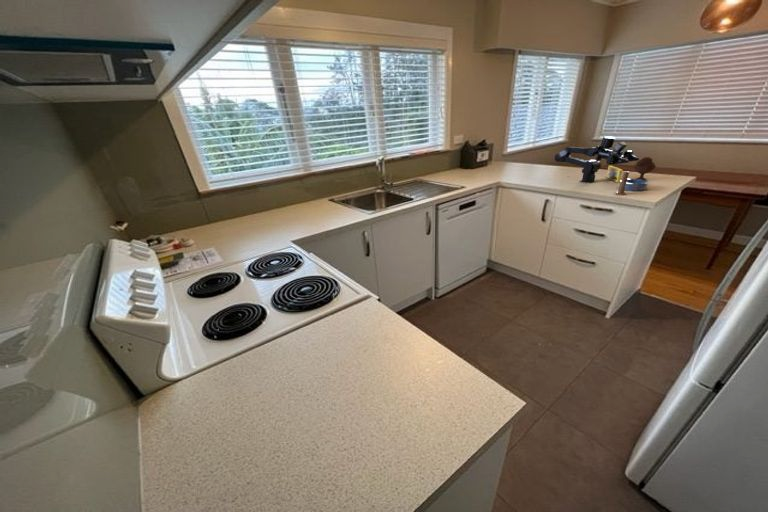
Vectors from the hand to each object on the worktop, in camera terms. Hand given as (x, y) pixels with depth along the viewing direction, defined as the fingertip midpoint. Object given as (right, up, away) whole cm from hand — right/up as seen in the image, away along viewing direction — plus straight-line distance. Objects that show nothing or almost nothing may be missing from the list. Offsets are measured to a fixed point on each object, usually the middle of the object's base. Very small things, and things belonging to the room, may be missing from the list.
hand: (633, 160), depth 178 cm
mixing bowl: (+4, -16, +6) cm, 17 cm away
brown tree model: (+23, -6, +22) cm, 32 cm away
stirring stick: (-10, -21, -2) cm, 23 cm away
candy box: (+9, -4, +28) cm, 30 cm away
